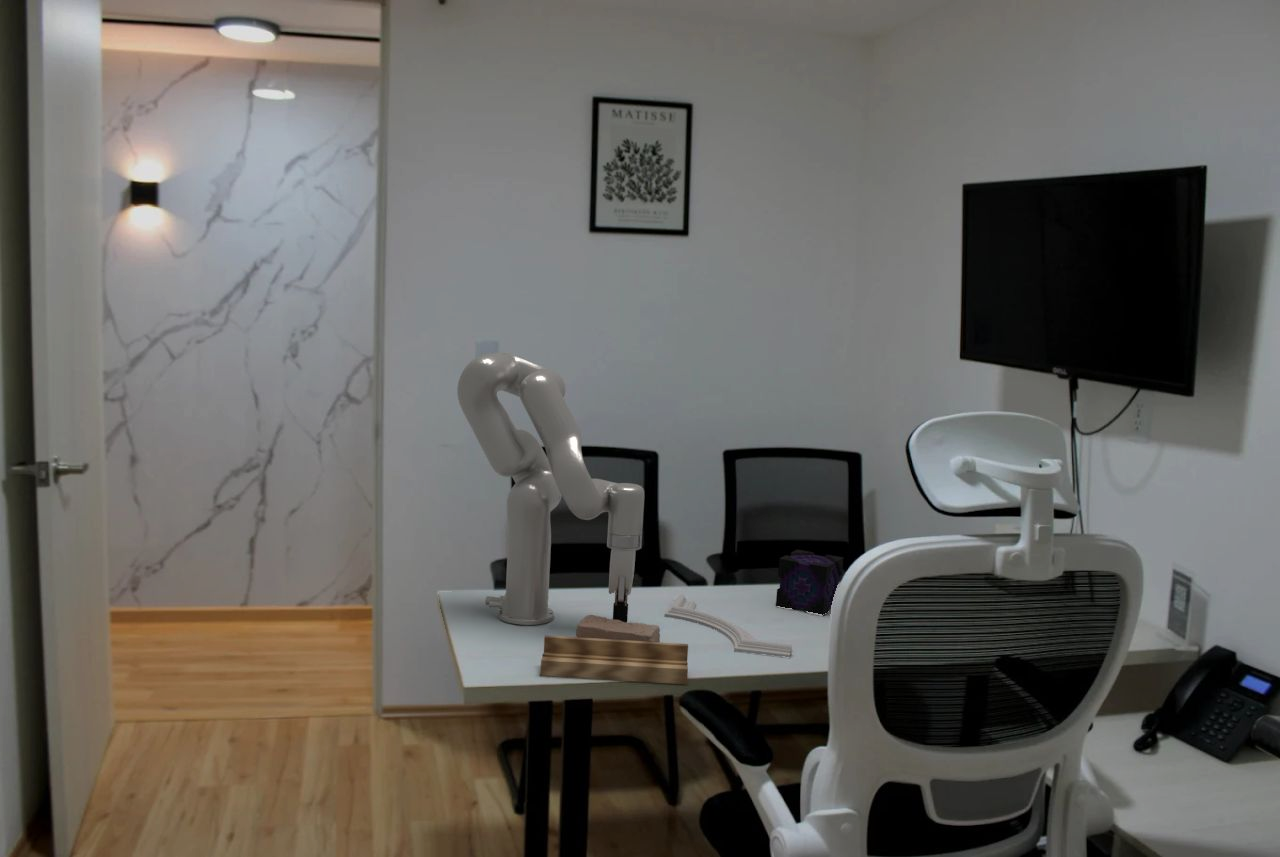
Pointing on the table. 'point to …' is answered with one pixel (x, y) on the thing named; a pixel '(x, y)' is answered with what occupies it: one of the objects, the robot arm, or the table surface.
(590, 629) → the brick
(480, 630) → the table surface
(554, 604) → the table surface
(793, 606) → the energy cube
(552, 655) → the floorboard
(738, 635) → the molding
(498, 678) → the table surface
